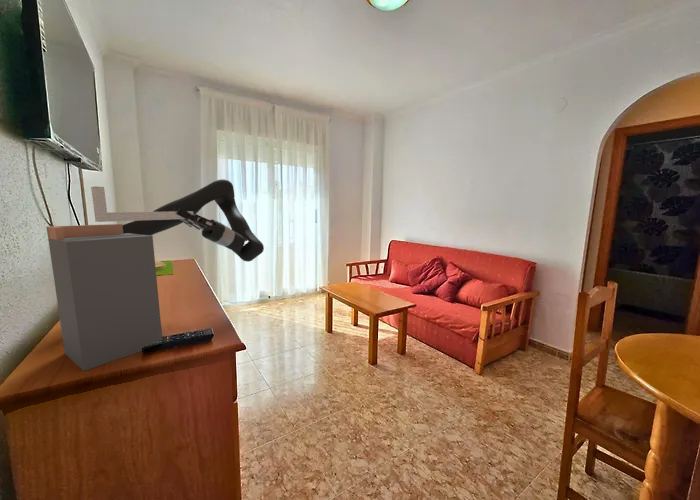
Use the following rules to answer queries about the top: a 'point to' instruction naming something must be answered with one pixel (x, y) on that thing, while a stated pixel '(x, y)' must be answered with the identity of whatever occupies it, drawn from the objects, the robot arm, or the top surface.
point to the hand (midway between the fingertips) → (175, 211)
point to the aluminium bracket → (105, 216)
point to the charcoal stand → (104, 292)
